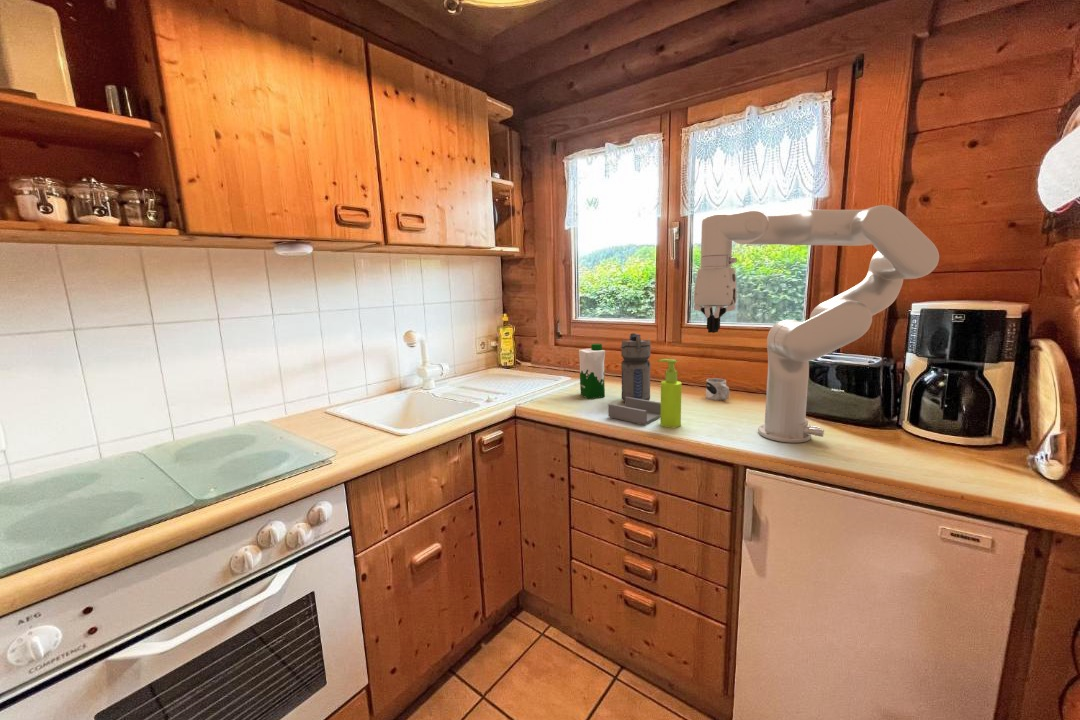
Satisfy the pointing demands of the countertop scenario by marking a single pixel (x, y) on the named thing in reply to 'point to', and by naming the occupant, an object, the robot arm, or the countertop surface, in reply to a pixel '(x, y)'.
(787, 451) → the countertop surface
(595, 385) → the soya milk
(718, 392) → the mug
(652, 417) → the cradle
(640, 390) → the beverage bottle
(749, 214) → the robot arm
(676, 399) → the soap dispenser
